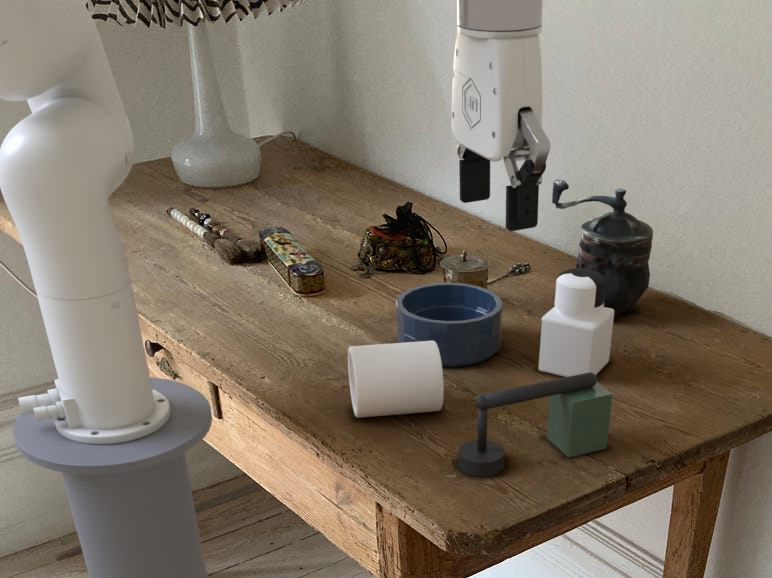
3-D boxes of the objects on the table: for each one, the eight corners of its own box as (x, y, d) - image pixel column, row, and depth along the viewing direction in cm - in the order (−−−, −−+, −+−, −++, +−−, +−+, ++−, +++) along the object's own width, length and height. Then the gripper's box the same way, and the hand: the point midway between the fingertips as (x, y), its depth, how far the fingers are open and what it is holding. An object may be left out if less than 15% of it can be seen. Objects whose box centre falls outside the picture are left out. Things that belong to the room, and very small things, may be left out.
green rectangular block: (568, 457, 114) (573, 402, 109) (546, 437, 117) (550, 383, 113) (606, 448, 115) (612, 393, 111) (583, 429, 119) (588, 375, 115)
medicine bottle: (558, 350, 135) (565, 259, 128) (609, 362, 133) (619, 269, 125) (537, 371, 130) (543, 277, 123) (589, 383, 128) (598, 288, 120)
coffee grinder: (530, 303, 148) (537, 170, 136) (620, 290, 152) (635, 161, 141) (569, 337, 139) (581, 198, 127) (664, 323, 143) (683, 187, 132)
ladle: (470, 481, 109) (472, 409, 104) (450, 459, 113) (451, 389, 108) (601, 450, 115) (608, 381, 110) (578, 430, 119) (584, 362, 113)
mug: (444, 422, 119) (444, 357, 114) (358, 430, 117) (354, 364, 112) (425, 378, 128) (424, 316, 123) (345, 384, 126) (341, 321, 121)
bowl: (423, 376, 129) (422, 330, 125) (381, 335, 138) (380, 291, 134) (518, 357, 133) (521, 312, 130) (472, 319, 143) (473, 276, 139)
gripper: (419, 1, 95) (426, 195, 106) (508, 31, 83) (505, 246, 94) (491, -4, 98) (490, 186, 108) (587, 24, 86) (575, 234, 97)
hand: (497, 214), depth 101 cm, fingers open, 9 cm apart
